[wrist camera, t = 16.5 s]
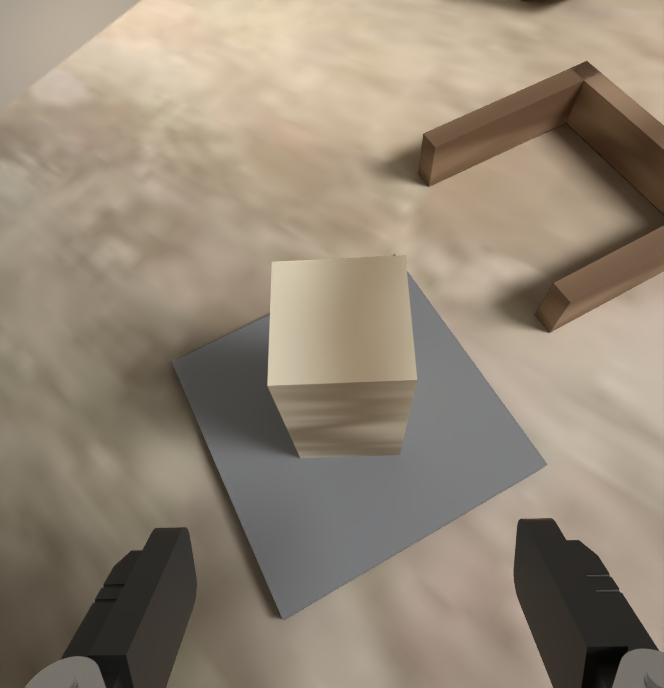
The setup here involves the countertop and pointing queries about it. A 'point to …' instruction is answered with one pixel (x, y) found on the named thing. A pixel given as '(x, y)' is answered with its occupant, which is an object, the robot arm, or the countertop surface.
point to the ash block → (342, 354)
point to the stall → (602, 135)
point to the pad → (351, 460)
